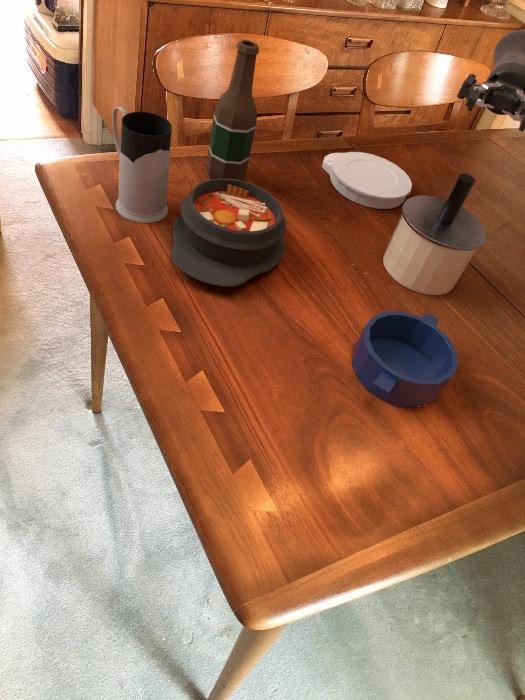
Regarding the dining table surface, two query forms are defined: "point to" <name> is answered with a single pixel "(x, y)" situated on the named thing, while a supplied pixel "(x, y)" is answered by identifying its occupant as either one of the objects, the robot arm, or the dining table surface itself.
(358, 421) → the dining table surface
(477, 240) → the steel lid
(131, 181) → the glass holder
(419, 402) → the pan
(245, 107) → the beer bottle
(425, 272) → the pot
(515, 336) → the dining table surface
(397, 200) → the lid
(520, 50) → the robot arm
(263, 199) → the casserole
